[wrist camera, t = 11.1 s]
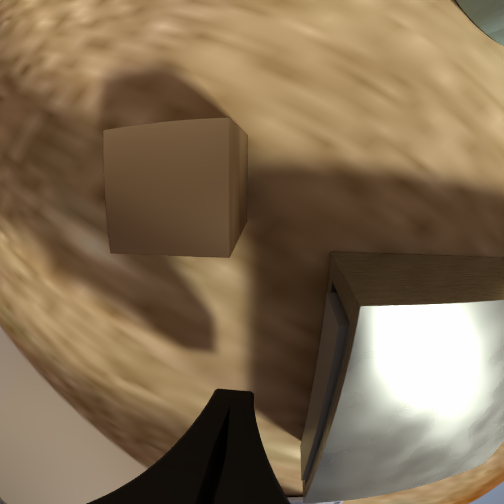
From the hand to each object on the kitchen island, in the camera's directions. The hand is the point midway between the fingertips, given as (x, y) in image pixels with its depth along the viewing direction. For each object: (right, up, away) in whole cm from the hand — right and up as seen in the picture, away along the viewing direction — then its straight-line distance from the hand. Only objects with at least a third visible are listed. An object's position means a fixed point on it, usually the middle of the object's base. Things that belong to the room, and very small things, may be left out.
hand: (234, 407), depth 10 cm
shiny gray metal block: (+9, 0, +2) cm, 9 cm away
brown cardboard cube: (-1, +8, 0) cm, 8 cm away
